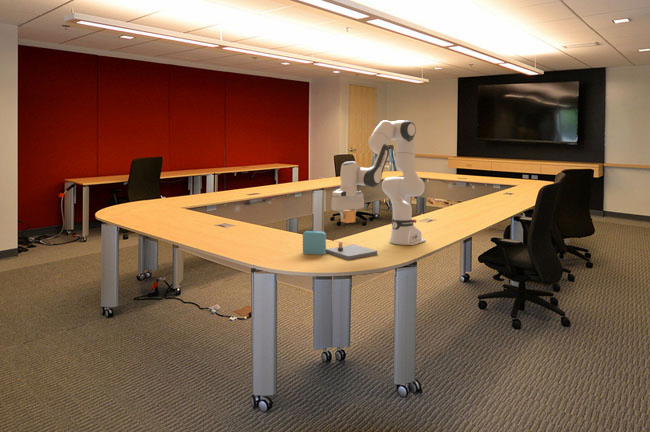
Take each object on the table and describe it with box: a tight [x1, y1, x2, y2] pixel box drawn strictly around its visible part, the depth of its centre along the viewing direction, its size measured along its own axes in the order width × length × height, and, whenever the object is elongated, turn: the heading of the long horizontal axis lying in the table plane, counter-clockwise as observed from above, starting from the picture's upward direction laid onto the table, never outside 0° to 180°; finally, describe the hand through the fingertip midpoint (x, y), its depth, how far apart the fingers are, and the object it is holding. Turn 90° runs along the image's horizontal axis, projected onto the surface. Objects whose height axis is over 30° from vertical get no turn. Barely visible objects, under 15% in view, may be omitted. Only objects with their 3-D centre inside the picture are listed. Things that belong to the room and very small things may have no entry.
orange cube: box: [340, 209, 357, 224], centre depth 274 cm, size 6×6×6 cm
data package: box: [302, 230, 327, 256], centre depth 278 cm, size 12×4×12 cm, turn 80°
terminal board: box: [324, 241, 378, 261], centre depth 279 cm, size 20×20×6 cm
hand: (347, 217), depth 274 cm, fingers closed on orange cube, 6 cm apart
